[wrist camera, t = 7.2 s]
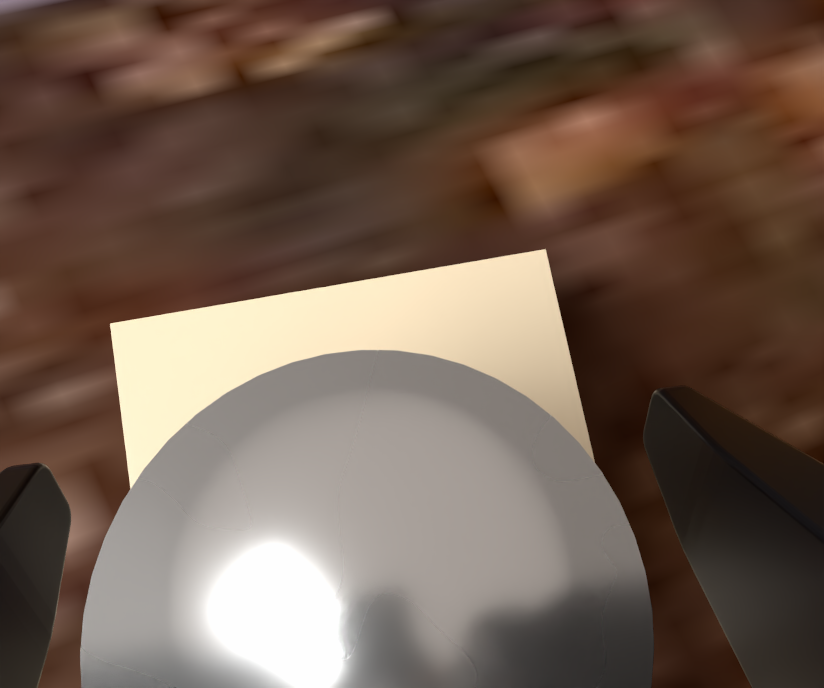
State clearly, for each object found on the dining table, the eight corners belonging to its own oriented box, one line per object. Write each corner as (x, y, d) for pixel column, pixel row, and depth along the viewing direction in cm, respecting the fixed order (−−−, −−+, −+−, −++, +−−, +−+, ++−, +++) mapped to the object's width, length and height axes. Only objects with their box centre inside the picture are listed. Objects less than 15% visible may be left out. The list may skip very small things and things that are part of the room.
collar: (597, 651, 18) (649, 697, 15) (210, 740, 17) (170, 811, 14) (515, 283, 20) (545, 249, 17) (157, 346, 19) (110, 323, 16)
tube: (483, 504, 19) (784, 655, 5) (364, 614, 18) (336, 1132, 4) (381, 386, 19) (404, 229, 5) (260, 489, 19) (-61, 605, 5)
